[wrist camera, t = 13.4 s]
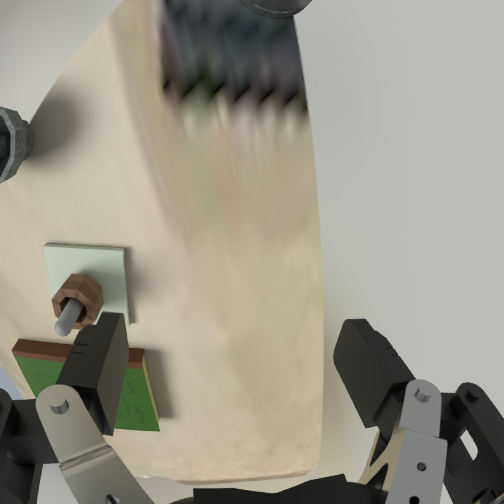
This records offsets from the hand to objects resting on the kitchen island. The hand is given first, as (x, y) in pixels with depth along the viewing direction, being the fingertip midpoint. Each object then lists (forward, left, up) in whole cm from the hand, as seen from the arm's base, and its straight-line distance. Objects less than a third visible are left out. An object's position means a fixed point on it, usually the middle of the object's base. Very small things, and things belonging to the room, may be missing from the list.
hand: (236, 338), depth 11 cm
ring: (+15, -17, -26) cm, 34 cm away
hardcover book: (+36, -21, -29) cm, 51 cm away
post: (+15, -17, -28) cm, 36 cm away
